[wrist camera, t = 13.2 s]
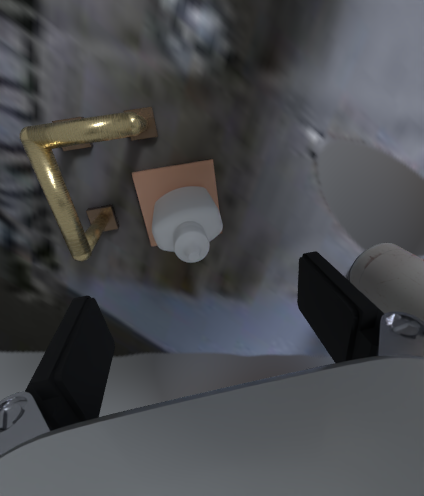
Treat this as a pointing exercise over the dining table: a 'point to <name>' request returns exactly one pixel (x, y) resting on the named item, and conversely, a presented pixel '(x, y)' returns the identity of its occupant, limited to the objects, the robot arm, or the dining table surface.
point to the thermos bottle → (391, 279)
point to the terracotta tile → (171, 185)
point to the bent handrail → (76, 137)
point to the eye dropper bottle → (186, 222)
